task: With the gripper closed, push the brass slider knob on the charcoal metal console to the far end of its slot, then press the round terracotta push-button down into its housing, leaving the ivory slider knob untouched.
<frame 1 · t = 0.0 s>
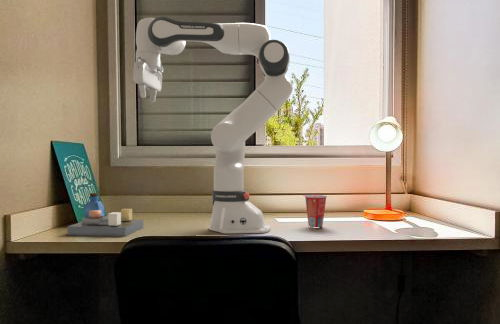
hand: (148, 99, 138), 48 cm above the table, fingers open, 8 cm apart
brass slider: (126, 214, 134), point 5 cm above the table, slide at 0.0 cm
ivory slider: (114, 218, 125), point 5 cm above the table, slide at 0.0 cm
cup: (314, 227, 140), on the table
perfume bottle: (93, 223, 146), on the table
push button: (95, 214, 129), point 6 cm above the table, slide at 0.0 cm
console: (107, 231, 130), on the table
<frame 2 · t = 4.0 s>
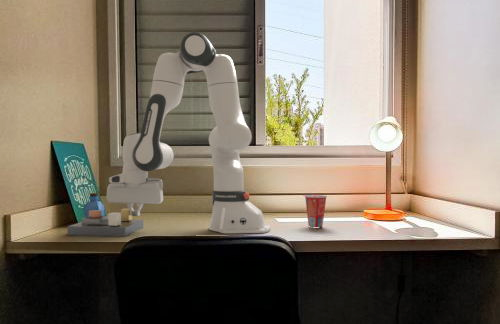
hand: (135, 215, 134), 5 cm above the table, fingers closed
brass slider: (126, 214, 134), point 5 cm above the table, slide at 0.0 cm, touching gripper
everything else where it was.
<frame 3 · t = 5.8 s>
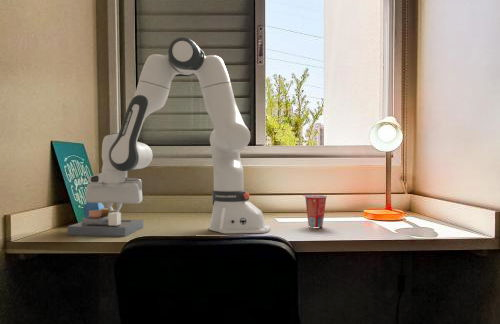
hand: (114, 215, 134), 5 cm above the table, fingers closed
brass slider: (105, 214, 135), point 5 cm above the table, slide at 7.9 cm, touching gripper
everything else where it was.
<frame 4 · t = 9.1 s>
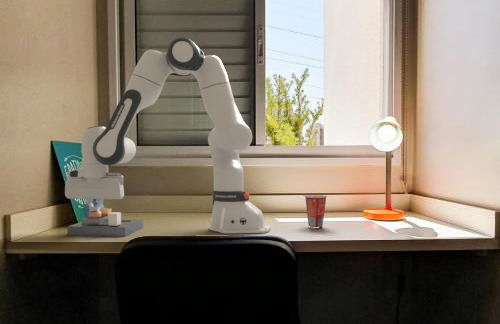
hand: (94, 211, 129), 7 cm above the table, fingers closed, pressing on push button
brass slider: (105, 214, 135), point 5 cm above the table, slide at 7.9 cm
push button: (95, 215, 129), point 6 cm above the table, slide at 0.3 cm, touching gripper
everything else where it was.
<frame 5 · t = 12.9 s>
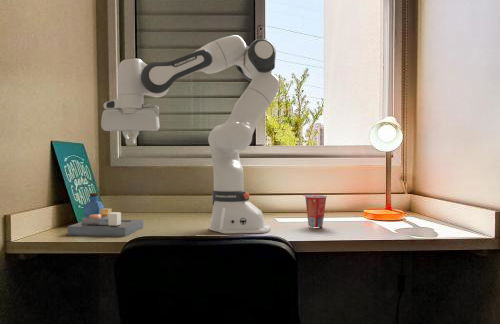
hand: (130, 143, 130), 31 cm above the table, fingers closed
push button: (95, 218, 129), point 5 cm above the table, slide at 1.5 cm
everything else where it was.
at the end: brass slider slide at 7.9 cm; push button slide at 1.5 cm; ivory slider slide at 0.0 cm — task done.
